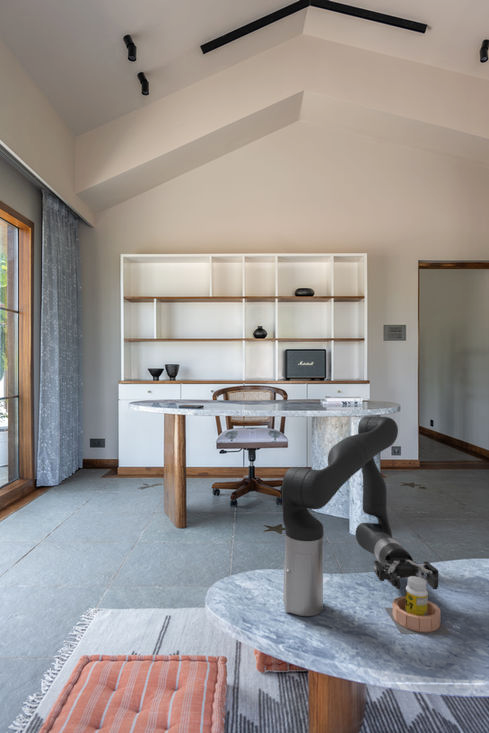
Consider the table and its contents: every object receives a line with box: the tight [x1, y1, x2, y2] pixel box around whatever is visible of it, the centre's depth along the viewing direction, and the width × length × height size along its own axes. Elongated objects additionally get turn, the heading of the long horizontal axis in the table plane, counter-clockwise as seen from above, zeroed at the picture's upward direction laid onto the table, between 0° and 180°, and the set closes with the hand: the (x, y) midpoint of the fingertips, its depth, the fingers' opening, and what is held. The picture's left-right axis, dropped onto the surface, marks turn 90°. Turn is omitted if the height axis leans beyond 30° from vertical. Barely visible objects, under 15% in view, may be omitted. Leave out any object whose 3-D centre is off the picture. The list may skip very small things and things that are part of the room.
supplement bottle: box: [404, 575, 429, 616], centre depth 100 cm, size 5×5×8 cm
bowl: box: [391, 595, 442, 633], centre depth 100 cm, size 10×10×3 cm
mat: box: [384, 607, 452, 635], centre depth 99 cm, size 11×11×1 cm
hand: (417, 584), depth 99 cm, fingers open, 8 cm apart
